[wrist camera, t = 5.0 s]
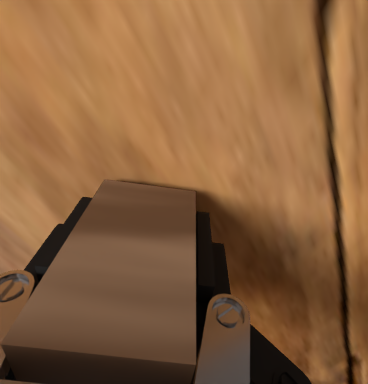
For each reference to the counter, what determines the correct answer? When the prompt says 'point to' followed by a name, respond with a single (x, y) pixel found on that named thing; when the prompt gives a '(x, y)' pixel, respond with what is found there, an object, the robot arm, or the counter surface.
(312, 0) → the counter surface
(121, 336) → the cube on stick
